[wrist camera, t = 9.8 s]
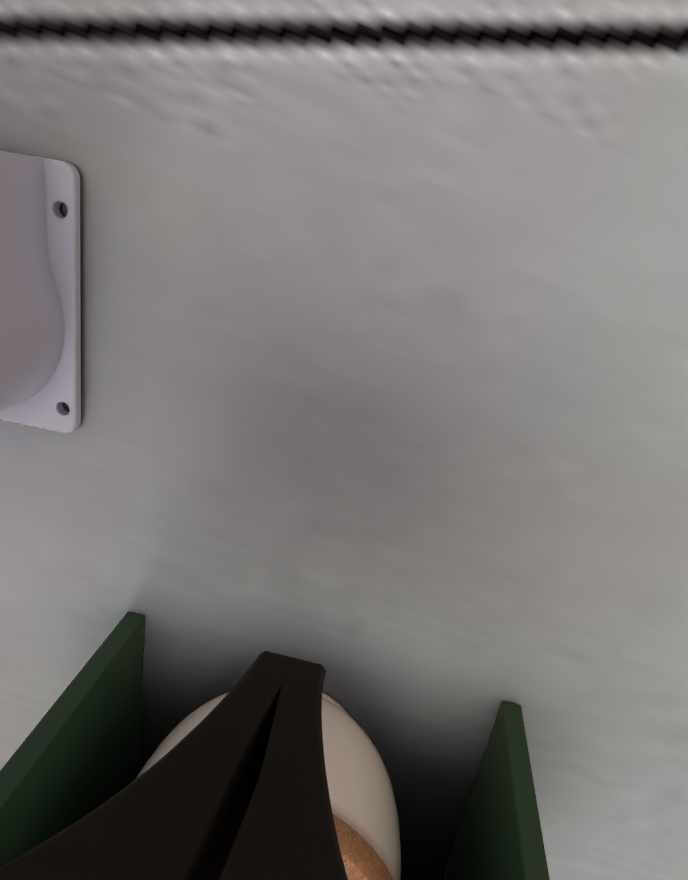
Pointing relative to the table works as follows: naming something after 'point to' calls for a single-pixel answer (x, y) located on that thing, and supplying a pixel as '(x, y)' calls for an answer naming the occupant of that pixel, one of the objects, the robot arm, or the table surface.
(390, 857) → the trinket box
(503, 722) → the cabinet
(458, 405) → the table surface
